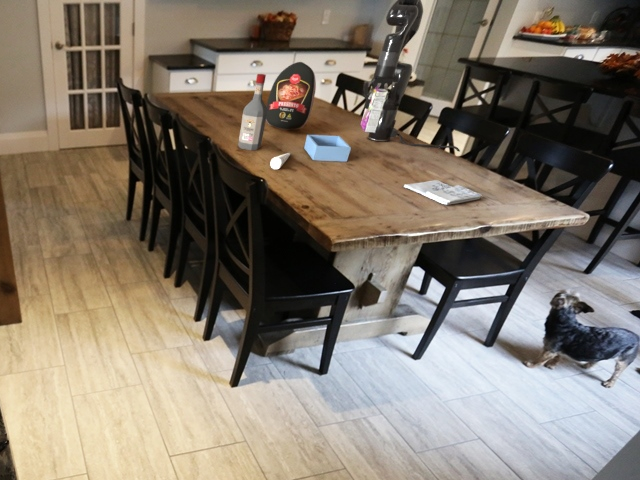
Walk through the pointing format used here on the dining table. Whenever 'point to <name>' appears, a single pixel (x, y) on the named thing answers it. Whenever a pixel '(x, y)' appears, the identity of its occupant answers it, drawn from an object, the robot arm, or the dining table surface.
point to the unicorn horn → (279, 161)
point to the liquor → (254, 119)
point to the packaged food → (291, 97)
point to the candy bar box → (374, 111)
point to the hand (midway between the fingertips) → (373, 108)
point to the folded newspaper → (444, 192)
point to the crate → (327, 148)
